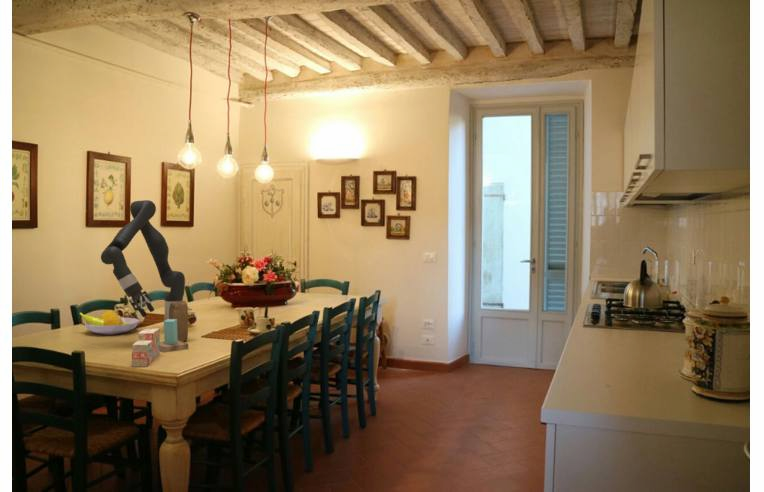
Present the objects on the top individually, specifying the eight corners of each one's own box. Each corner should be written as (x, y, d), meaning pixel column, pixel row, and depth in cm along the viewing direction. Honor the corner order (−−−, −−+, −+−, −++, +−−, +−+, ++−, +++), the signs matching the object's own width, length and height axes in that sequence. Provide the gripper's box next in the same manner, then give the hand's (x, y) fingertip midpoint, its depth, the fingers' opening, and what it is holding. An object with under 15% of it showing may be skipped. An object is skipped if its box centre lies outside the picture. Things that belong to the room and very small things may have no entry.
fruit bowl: (146, 328, 319) (146, 308, 318) (125, 337, 292) (126, 315, 291) (95, 327, 318) (95, 307, 317) (70, 337, 291) (70, 315, 290)
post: (168, 341, 272) (167, 319, 271) (177, 341, 272) (176, 319, 271) (164, 344, 267) (163, 321, 266) (174, 344, 267) (173, 321, 266)
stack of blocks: (147, 366, 236) (147, 337, 235) (131, 367, 235) (131, 337, 235) (159, 354, 257) (160, 327, 257) (145, 355, 256) (145, 327, 256)
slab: (177, 345, 278) (177, 339, 278) (188, 350, 269) (188, 343, 269) (152, 349, 270) (152, 343, 270) (163, 353, 261) (163, 347, 261)
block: (188, 342, 285) (189, 302, 284) (173, 343, 280) (174, 303, 279) (181, 338, 293) (182, 299, 292) (167, 339, 289) (167, 300, 288)
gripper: (130, 284, 263) (149, 314, 266) (143, 277, 277) (161, 306, 280) (116, 292, 264) (136, 321, 266) (130, 285, 278) (148, 313, 280)
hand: (149, 313), depth 273 cm, fingers open, 8 cm apart
